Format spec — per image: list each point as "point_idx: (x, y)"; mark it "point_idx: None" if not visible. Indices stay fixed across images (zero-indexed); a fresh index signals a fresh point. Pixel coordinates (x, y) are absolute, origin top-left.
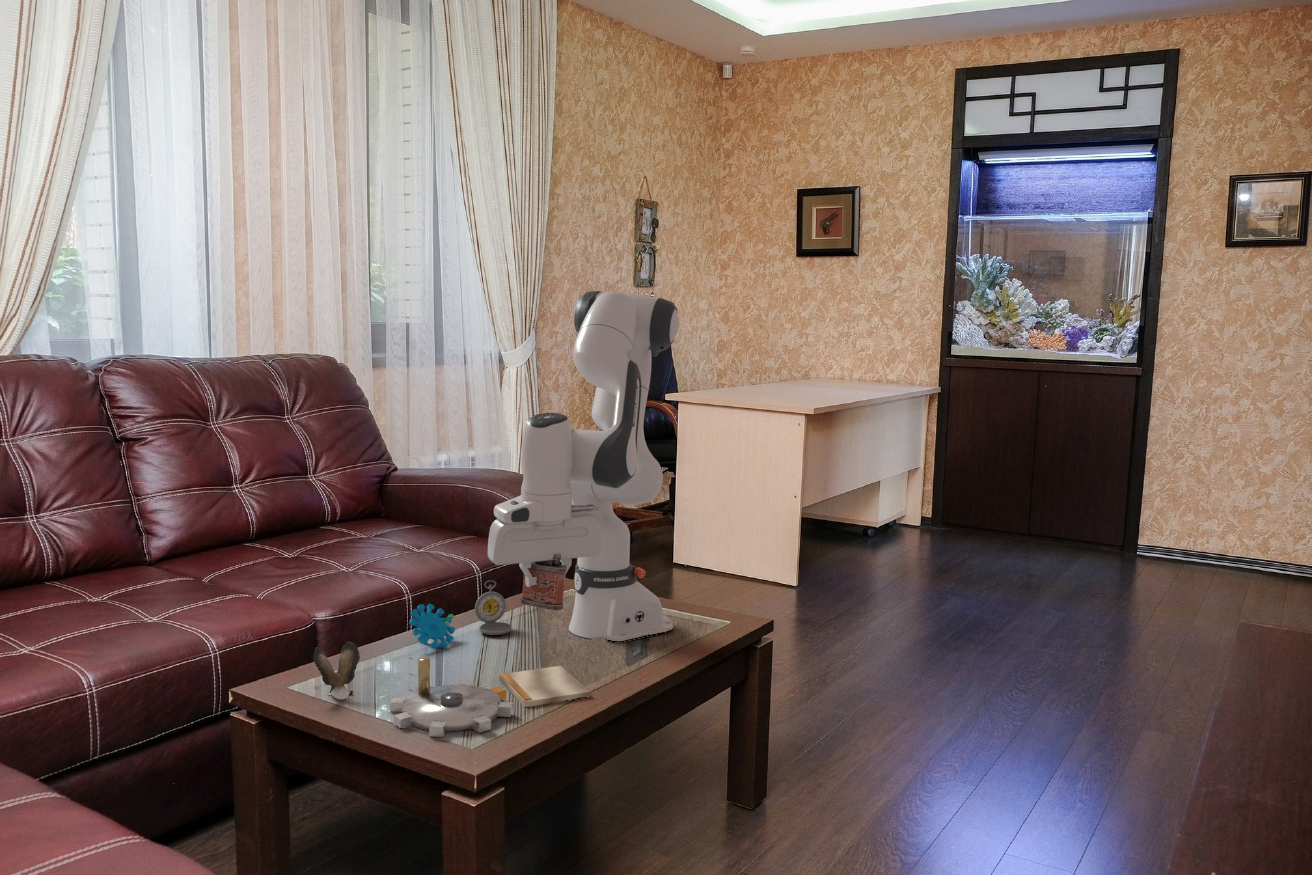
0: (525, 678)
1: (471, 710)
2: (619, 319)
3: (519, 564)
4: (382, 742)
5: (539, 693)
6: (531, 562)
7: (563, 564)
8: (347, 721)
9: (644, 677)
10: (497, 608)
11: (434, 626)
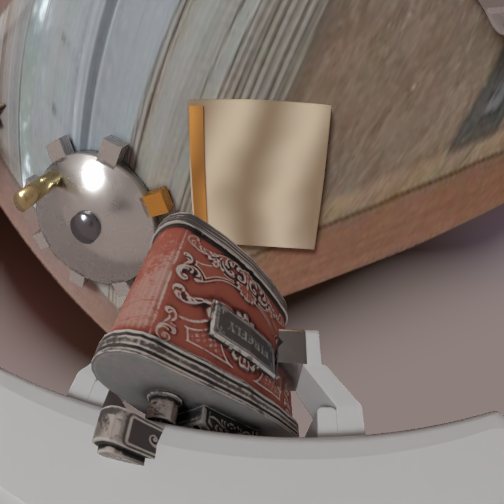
0: (230, 143)
1: (111, 260)
2: None
3: (76, 380)
4: (39, 257)
5: (229, 221)
6: (134, 391)
7: (325, 406)
8: (4, 193)
9: (436, 212)
10: None
11: None
